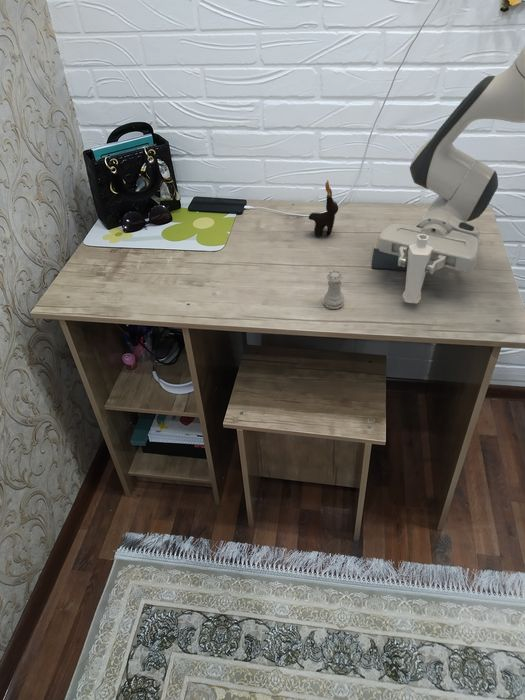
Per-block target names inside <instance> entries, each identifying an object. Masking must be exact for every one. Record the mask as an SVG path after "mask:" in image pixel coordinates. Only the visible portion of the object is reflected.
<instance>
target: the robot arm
mask: <svg viewBox="0 0 525 700" xmlns="http://www.w3.org/2000/svg"><path fill="white" fill-rule="evenodd" d="M478 120H498V121H504V122H510V123H517V124H525V45H524V46H523V47H522V49H521V51H520V52H519V54H518V55H517V56H516V58H515V59H514V61H513V62H512V64H511V65H510V66H509V67H508V68H507V69H505V70H504V71H502V72H501V73H499V74H497V75H488V76H486V77H484V78H482V80H480V81H479V82H478V83H477V84H476V85H475V86H474V87H473V89H472V90H470V92H469V93H468V94H467V95H466V96H465V98H463V100H462V101H461V102H460V103H459V104H458V105H457V107H456V108H455V109H454V110H453V112H452V113H451V114H450V115H449V116H448V118H446V120H445V121H444V122H443V124H442V125H441V126H440V127H439V128H438V130H437V132H435V133H434V134H433V136H432V137H431V138H430V139H428V140H427V141H426V142H425V143H424V144H423V145H422V146H421V147H420V148H419V149H418V150H417V151H416V153H415V154H414V155H413V157H412V160H411V162H410V166H409V171H410V176H411V178H412V181H413V183H414V184H415V185H417V186H420V187H422V188H424V189H426V190H429V191H431V192H433V193H435V194H436V195H438V196H437V197H436V198H435V199H434V200H433V201H432V203H431V204H430V205H429V207H428V209H427V211H426V212H425V213H424V215H422V217H421V219H419V222H418V223H417V225H416V226H415V225H410V224H405V223H399V222H395V223H391V224H388V225H387V226H386V227H385V229H384V230H382V231H381V232H380V234H379V235H378V238H377V248H378V249H379V251H381V252H384V253H389V254H393V255H397V256H398V258H399V260H398V266H402V267H405V266H406V265H407V262H408V261H407V260H408V250H409V246H410V245H413V244H416V243H417V238H418V237H417V235H420V234H425V235H427V236H429V237H428V239H427V244H426V245H428V246H430V247H432V248H433V249H432V252H431V256H430V260H429V262H428V264H427V266H426V274H430V275H434V273H435V271H438V270H440V269H443V268H446V269H451V270H455V271H460V272H464V273H469V272H472V271H473V270H474V268H475V266H476V261H477V256H478V252H479V247H480V240H479V239H480V228H478V227H476V226H474V225H471V224H470V223H468V222H471V221H474V220H476V219H478V218H479V217H480V216H482V215H483V213H484V212H485V210H486V209H487V208H488V206H489V205H490V203H491V201H492V199H493V197H494V196H495V193H496V192H497V191H498V188H499V178H498V173H497V171H496V170H495V169H493V168H491V167H490V166H488V165H486V164H485V163H484V162H481V161H480V160H478V159H476V158H474V157H472V156H470V155H468V154H467V153H465V152H463V151H462V150H460V149H458V148H457V147H456V146H455V145H454V144H453V143H454V142H455V141H456V140H457V138H459V137H460V136H461V134H462V133H463V132H464V131H465V130H466V128H467V127H468V126H469V125H470V124H472V123H473V122H475V121H478Z"/></svg>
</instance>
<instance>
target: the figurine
mask: <svg viewBox="0 0 525 700" xmlns="http://www.w3.org/2000/svg"><path fill="white" fill-rule="evenodd" d="M324 187H325V192H326V203H325V210H326V211H325V212H312V213H310V214H309V215H308V220H311V221H313V222H314V224H315V225H314V228H313V230H314V236H315V237H322V236H323V234H324V230H325V228H327V230H326V236H327V237H329V236H330V235H331V233H332V232H333V228H334V223H335V219H336V214H337V213H338V211H339V206H338V205H339V204H338V203H337V202H336V201H334V199H333V191H332V188H331V186H330V183H329V180H328V179H327V180H326V182H325V186H324Z"/></svg>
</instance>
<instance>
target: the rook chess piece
mask: <svg viewBox="0 0 525 700" xmlns="http://www.w3.org/2000/svg"><path fill="white" fill-rule="evenodd" d="M343 277H344V276H343V275H342V272H341V271H340V270H336V269H333V270H330V271H329V272H328V274H327V276H326V279H327V280H328V281H327V285H328V287H327V292H326V293H325V295H324V297H323V305H324V307H326V308H327V309H329V310H338V309H341V307H343V306H344V304H345V297H344V295H343V293H342V292H341V285H342V280H343Z"/></svg>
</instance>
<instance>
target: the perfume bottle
mask: <svg viewBox="0 0 525 700" xmlns="http://www.w3.org/2000/svg"><path fill="white" fill-rule="evenodd" d="M417 237H418V238H417V243H416V244H413V245H410V246H409V250H408V262H407V272H406V275H405V276H406V277H405V287H404V291H403V293H402V298H403V300H404V302H405V303H409V304H419V302H420V300H421V298H422V293H421V291H422V288H423V285H424V281H425V277H426V274H427V273H426V266H427V264H428V262H429V260H430V256H431V252H432V249H433V248H432V247H430V246H428V245H426V244H427V239H428V237H429V236H427V235H425V234H420V235H417Z"/></svg>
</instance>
